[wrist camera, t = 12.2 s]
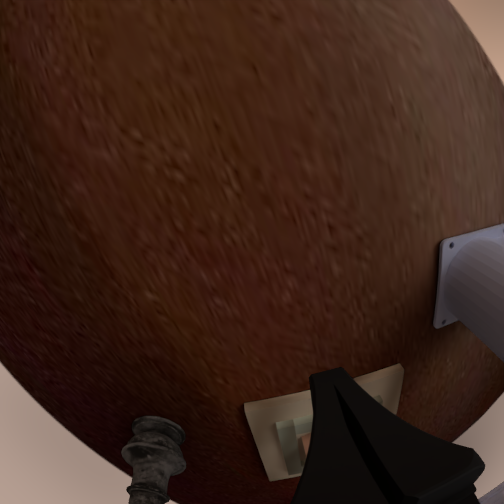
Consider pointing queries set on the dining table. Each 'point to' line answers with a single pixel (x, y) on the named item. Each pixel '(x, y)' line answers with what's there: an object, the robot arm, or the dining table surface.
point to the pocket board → (306, 421)
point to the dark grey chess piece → (153, 458)
